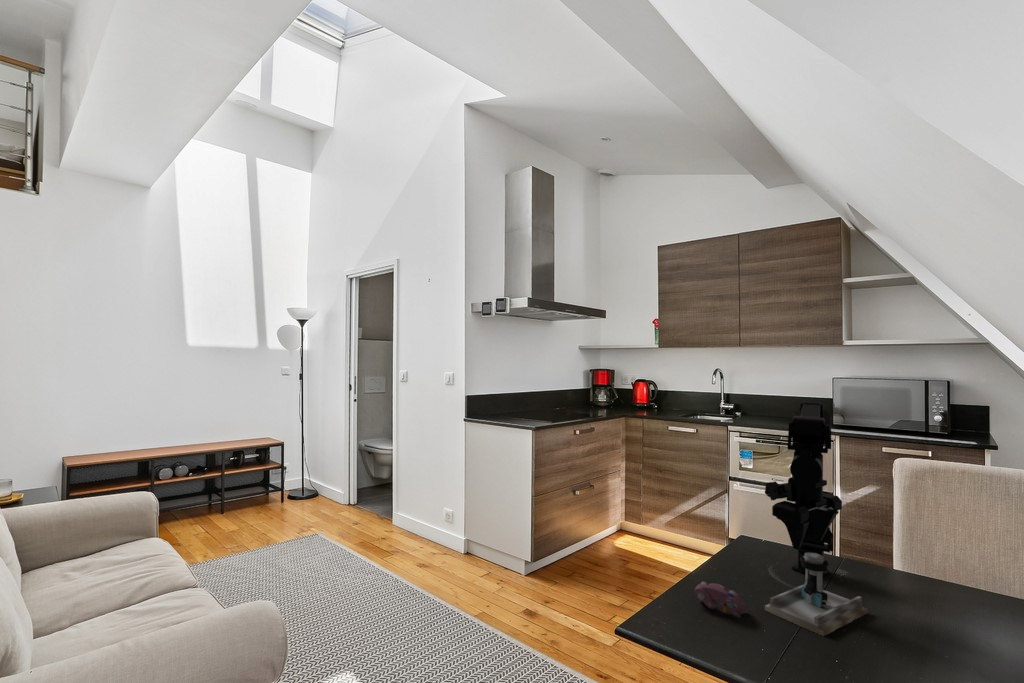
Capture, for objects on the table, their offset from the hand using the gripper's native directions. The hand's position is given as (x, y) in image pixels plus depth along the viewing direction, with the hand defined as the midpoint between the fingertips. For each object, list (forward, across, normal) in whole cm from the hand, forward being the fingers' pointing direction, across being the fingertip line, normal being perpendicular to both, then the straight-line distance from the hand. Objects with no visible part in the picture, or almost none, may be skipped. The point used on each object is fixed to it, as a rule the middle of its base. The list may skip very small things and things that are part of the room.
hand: (807, 545), depth 116 cm
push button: (+11, +2, +3) cm, 12 cm away
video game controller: (+13, +20, -8) cm, 25 cm away
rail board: (+13, +3, +3) cm, 13 cm away
